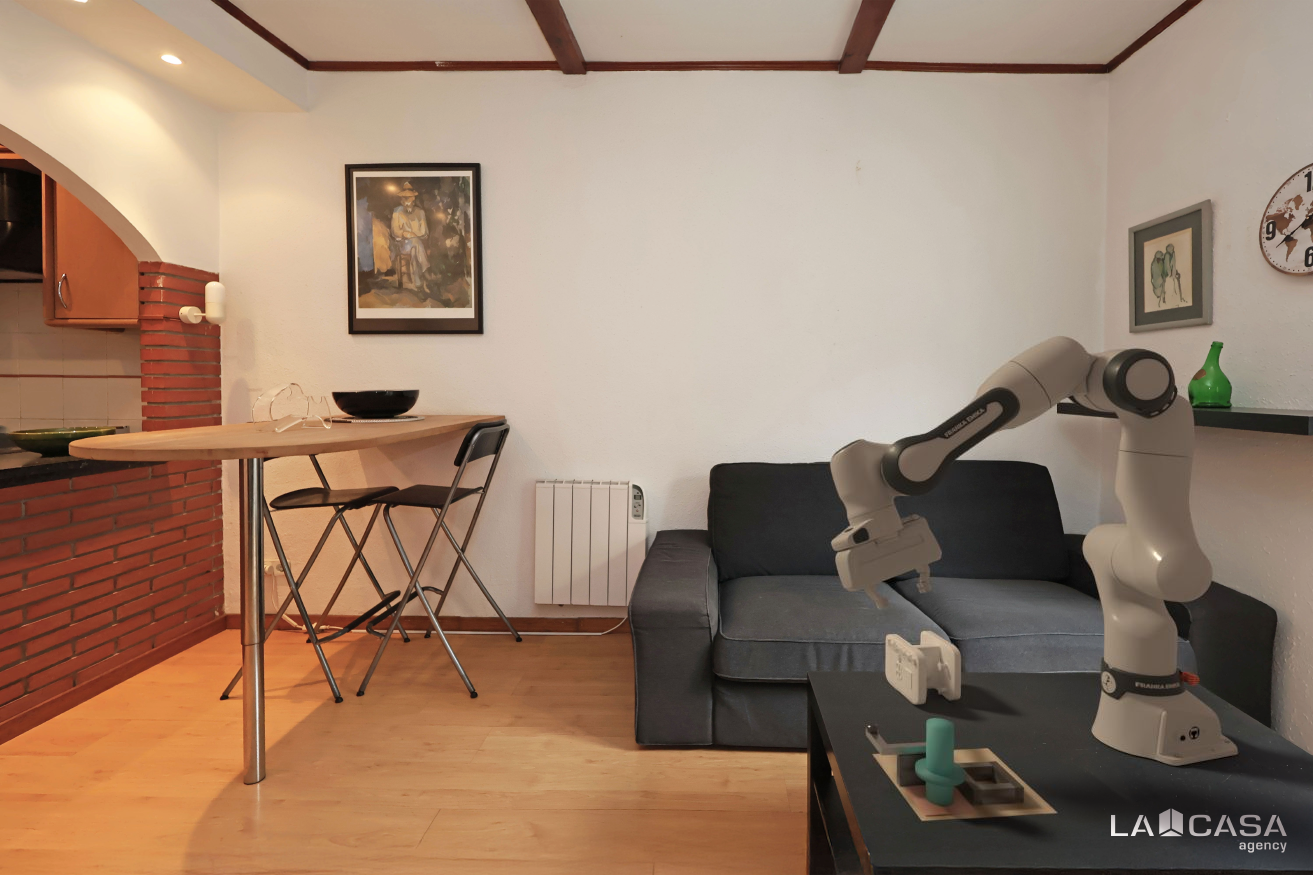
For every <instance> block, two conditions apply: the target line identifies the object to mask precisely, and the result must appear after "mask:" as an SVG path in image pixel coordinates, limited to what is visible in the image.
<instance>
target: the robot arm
mask: <svg viewBox="0 0 1313 875" xmlns="http://www.w3.org/2000/svg"><path fill="white" fill-rule="evenodd" d="M1083 346H1084V345H1082V344H1081V343H1080V342H1078V341H1077V340H1075V339H1073V338H1072V337H1068V336H1063V335H1062V336H1061V335H1059V336H1058V335H1057V336H1052V337H1051V338H1048V339H1046V340H1044V341H1040V343H1037V344H1035V345H1034V346H1033V345H1032V346H1031V347H1030V348H1028V349H1026V350H1024V351H1022V352H1021V353H1019V354H1018V355H1016V356H1015V357H1013V358H1012V359H1010V360H1009V361H1008V362H1006V363H1004V364H1003V365H1001V367H999V368H998V369H997V370H995V372H993V373H991V375H990V376H988V378H986V380H984V382H983V383H982V384H981V385H980V386H979V387H978V389H977V392H976V394H975V395H974V397H973V399H972V400H971V401H970V402H969V403H968V404H967V405H966V406H964V407H963V409H961V410H960V411H958V412H957V413H955V414H953V415H952V416H950V417H949V418H948V419H946V420H945V421H943V422H942V423H941V424H939V425H937V426H936V427H934V428H932V429H931V430H929V431H927V432H925V433H921V434H917V435H916V434H914V435H910V436H906V437H902V438H900V439H898V440H896V441H894V442H893V443H882V442H881V443H880V442H873V441H869V440H866V439H862V438H859V439H855V440H854V441H851V442H850V443H848V444H846V445H844V446H843V447H841V448H839V449H838V450H837V451H835V453H834V454H833V455H832V457H831V459H830V463H829V466H830V472H831V475H832V480H833V482H834V485H835V489H836V491H837V494H838V497H839V499H840V500H841V502H842V503H843V505H844V507H845V509H846V516H847V520H848V523H849V526H847V528H845V529H844V530H843V531H841V532H840V533H839V534H838V535H836V537H834V538H833V539H832V540H831V542H830V544H831V547H832V549H833V550H834V551H836V552H837V553H836V555H835V565H836V569H837V573H838V576H839V579H840V582H841V584H842V586H843V589H845V590H847V591H848V592H851V593H852V592H857V591H860V590H863V589H864V591H865V592H864V593H865V594H866V595H868V597H869V598H871V600H873V601H874V603H875V605H876V609H878V610H879V611H881V610H882V611H883V610H885V609H888V608H889V607H890V603H889V602H888V601H889V600H888V598H887V597H883V596H881V595H880V594H879V593H878V592H877V590H878V586H877V584H879V583H881V582H884V581H887V580H889V579H891V578H894V577H897V576H899V575H903V574H905V573H907V572H908V573H909V572H910V571H913V570H915V572H916V573H917V574H919V582H918V583H916V587H917V588H918V592H919V593H920V594H924V593H927V592H931V591H932V587H931V583H930V576H931V575H930V574H931V568H930V565H929V564H931V563H933V562H936V561H939V560H941V559H942V555H943V554H942V553H943V551H942V549H941V547H940V545H939V543H938V541H937V538H936V537H935V535H934V534H933V532H932V531H931V529H930V526H929V523H928V522H927V519H926V518H925V517H924V516H921V515H918V514H916V513H914V514H912V515H911V514H910V515H909V516H906V517H903V518H901V517H900V514H899V511H898V510H897V507H896V504H895V501H894V499H895V498H896V497H900V496H901V497H902V496H903V497H917V496H918V497H919V496H923V495H926V494H928V493H930V492H931V491H933V490H934V489H936V488H937V486H938V485H939V484H940V482H941V481H942V480H943V479H944V477H945V474H946V473H947V471H948V469H949V468H950V467H951V465H952V464H953V463H954V462H955V461H956V460H958V458H960V457H961V456H962V455H964V454H965V453H967V452H969V450H971V449H973V448H974V447H975V446H977V445H979V443H981V442H982V441H984V440H985V439H987V438H988V437H990V436H991V435H993V434H996V433H999V432H1001V431H1005V430H1014V429H1016V428H1018V427H1021V426H1023V425H1025V424H1027V423H1029V422H1031V421H1033V420H1035V419H1037V418H1038V417H1040V416H1041V415H1043V414H1045V413H1046V412H1047V411H1049V410H1050V409H1052V408H1053V407H1055V406H1056V405H1058V404H1059V403H1060V402H1062V401H1063V400H1065V399H1069V400H1070V401H1071V402H1072V403H1074V404H1075V405H1077V406H1078V407H1080V408H1082V409H1085V410H1088V411H1096V412H1097V411H1098V412H1105V413H1115V414H1116V416H1117V417H1118V420H1119V422H1120V428H1121V435H1120V442H1119V447H1118V448H1119V449H1118V456H1117V465H1116V472H1115V481H1114V493H1115V496H1116V499H1117V500H1118V501H1119V503H1120V505H1121V507H1122V509H1123V510H1122V511H1123V514H1124V517H1125V523H1121V522H1120V523H1118V522H1117V523H1114V522H1112V523H1102V524H1098V525H1097V526H1095V527H1093V528H1091V530H1089V532H1088V533H1087V534H1086V535H1085V538H1084V540H1083V542H1082V553H1083V556H1084V560H1085V561H1086V562H1087V564H1088V565H1089V567H1090V568H1091V572H1092V574H1093V576H1094V579H1095V584H1096V587H1097V590H1098V594H1099V600H1100V603H1101V608H1102V615H1103V624H1104V625H1103V629H1104V630H1103V631H1104V632H1103V656H1102V658H1101V659H1100V674H1099V675H1100V677H1099V678H1100V685H1101V692H1100V693H1101V694H1100V699H1099V704H1098V708H1097V709H1098V710H1097V712H1096V717H1095V720H1094V722H1093V724H1092V727H1091V733H1092V734H1093V736H1094V737H1095V738H1096V739H1097V740H1099V741H1100V742H1102V743H1103V744H1105V745H1106V746H1109V747H1111V748H1112V749H1115V750H1117V751H1120V752H1122V753H1127V754H1130V755H1134V756H1138V757H1143V758H1148V759H1152V760H1156V761H1158V762H1162V763H1163V764H1166V765H1170V766H1178V767H1179V766H1183V765H1189V764H1194V763H1200V762H1204V761H1210V760H1215V759H1220V758H1224V757H1229V756H1236V755H1238V754H1239V750H1238V747H1237V745H1236V744H1235V743H1234V742H1233V741H1232V739H1229V738H1228V737H1226V736H1225V735H1224V734H1222V728H1221V723H1220V720H1219V717H1218V715H1217V713H1216V712H1215V711H1214V710H1213V709H1212V708H1211V707H1210V706H1208V705H1207V704H1205V702H1203V701H1202V700H1200V699H1199V698H1198V697H1196V696H1195V695H1194V694H1192V693H1191V692H1190V691H1189V690H1187V689H1186V686H1185V684H1184V683H1187V684H1188V685H1190V686H1193V687H1195V686H1197V685H1198V684H1199V683H1200V677H1199V676H1198V675H1197V674H1195V673H1192V671H1182V670H1181V669H1180V668H1178V667H1177V663H1178V662H1177V658H1178V655H1177V654H1178V628H1177V625H1176V622H1175V621H1174V619H1173V617H1172V616H1171V615H1170V613H1169V611H1168V609H1167V607H1166V604H1165V601H1168V602H1178V603H1187V602H1193V601H1194V600H1197V599H1198V598H1200V597H1201V596H1203V595H1204V594H1205V593H1206V591H1208V589H1209V587H1210V586H1211V583H1212V580H1213V568H1212V567H1213V566H1212V563H1211V561H1210V559H1209V558H1208V557H1207V555H1206V553H1204V551H1203V550H1202V548H1201V546H1200V545H1199V542H1198V539H1197V536H1196V533H1195V529H1194V524H1193V521H1192V515H1191V508H1190V493H1191V492H1190V489H1191V480H1192V479H1191V477H1192V471H1193V463H1194V462H1193V460H1194V452H1195V439H1196V438H1195V420H1194V419H1195V418H1194V410H1193V409H1194V408H1193V406H1192V404H1191V402H1190V401H1189V400H1188V399H1187V398H1185V397H1184V396H1182V395H1180V394H1179V391H1178V387H1177V386H1176V377H1175V373H1174V370H1173V367H1172V366H1171V364H1170V362H1169V361H1168V360H1167V358H1166V357H1164V356H1163V355H1161V354H1160V353H1158V352H1156V351H1153V350H1149V349H1144V348H1128V349H1125V348H1124V349H1123V348H1120V349H1119V348H1118V349H1110V350H1109V349H1108V350H1105V351H1103V352H1096V353H1089V352H1088V351H1087V350H1086V348H1085V347H1083Z"/></svg>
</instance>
